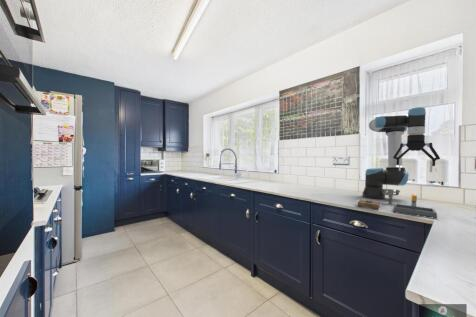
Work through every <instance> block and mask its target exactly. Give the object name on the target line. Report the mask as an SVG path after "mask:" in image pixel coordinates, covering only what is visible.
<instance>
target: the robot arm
mask: <svg viewBox="0 0 476 317" xmlns="http://www.w3.org/2000/svg"><path fill="white" fill-rule="evenodd" d="M426 114H427V113H426V108H425V107H423V106H420V107H419V106H417V107H411V108H409V109H408V111H407V114H396V115H380V116H376V117H375V118H374V119H372V120H370V122H369V123H368V128H369V129H370V130H371V131H373V132H376V133H385V135H386V136H387V149H388V150H387V153H388V154H387V155H388V156H387V157H388V158H387V159H388V160H387V161H388V163H387V164H388V165H387V166H386V167H385V169H384V167H374V168H372V167H371V168H366V170H365V175H364V177H365V186H364V188H363V191H362V194H361V195H362V197H363V198H368V199H375V200H385V199H386V195H385V194H383V192H382V189H384V188H383V187H384V185H385V186H397V187H398V186H406V185H407V183H408V181H409V180H408V179H409V171H408V170H406V168H405V166H403V156H406V154H407V153H408V152H409V151H412V152H414V151H417V152H420V151H422V152H423V153H424V155H426V156H427V157H428V158H429V159H430V160H429V172H430V173H433V167H435V166H436V161H438V160H440V159H441V157H440V156H439V154H438V152H437V151H436V149H435V148H434V146H433V143H432V142H429V143H428V142H427V143H426V142H425V139H426V138H425V133H426ZM406 131H407V137H406V138H407V139H406V143H403V141H402V140H403V138H402V137H403V135H404V134H405V132H406ZM405 146H406V147H407V148H406V149H405V150H404V151H403V148H405ZM425 146H426V147H427V148H429V149H430V151H431V153H432V154H433V155H434V156H433V155H432V154H430V152H428V151H427V150H426V149H425V148H424V147H425Z"/></svg>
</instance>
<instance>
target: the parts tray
mask: <svg viewBox="0 0 476 317" xmlns="http://www.w3.org/2000/svg"><path fill="white" fill-rule="evenodd" d="M393 212H394V213H396V212H399V213H398V214H403V213H404V214H403V215H409V214H412V215H411V216H416V215H419V216H418V217H423V216H426V217H425V218H429V217H433V218H432V219H436V218H438V217H437V216H438V213H437V211H436V210H435V209H434V208H432V207H431V208H430V207H424V206H423V207H422V206H416V210H414V209H411V205H408V204H399V203H394V204H393Z"/></svg>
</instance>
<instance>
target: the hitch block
mask: <svg viewBox="0 0 476 317" xmlns="http://www.w3.org/2000/svg"><path fill="white" fill-rule="evenodd" d="M357 207H358V208H362V207H364V208H363V209H369V208H370V209H371V210H377V211H378V209H379V208H380V201H376V200H368V199H362V198H360V199H359V200H358V201H357Z"/></svg>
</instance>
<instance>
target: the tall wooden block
mask: <svg viewBox="0 0 476 317" xmlns="http://www.w3.org/2000/svg"><path fill="white" fill-rule="evenodd" d="M417 197H418V195H417V194H415V193H411V198H410V199H411V204H410V206H411V209H414V210H416V207H417V202H418V200H417V199H418V198H417Z"/></svg>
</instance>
